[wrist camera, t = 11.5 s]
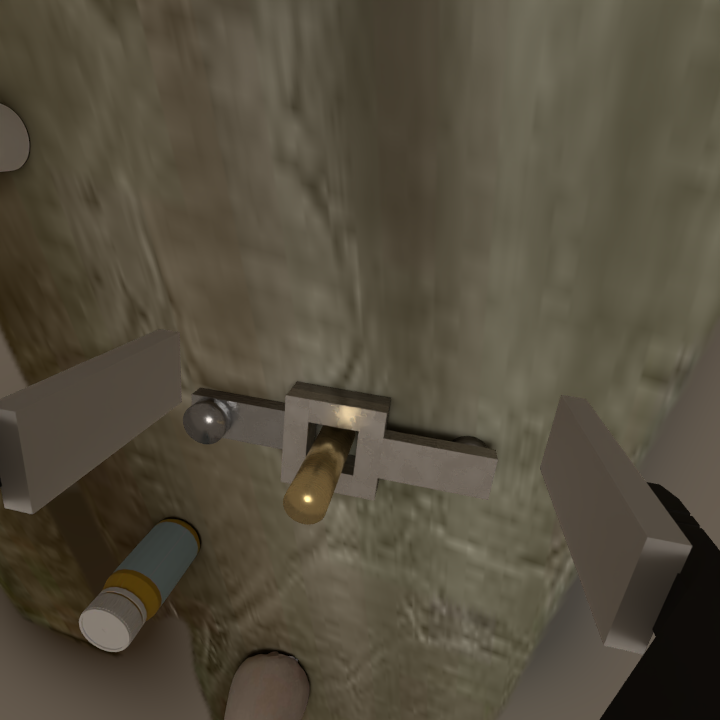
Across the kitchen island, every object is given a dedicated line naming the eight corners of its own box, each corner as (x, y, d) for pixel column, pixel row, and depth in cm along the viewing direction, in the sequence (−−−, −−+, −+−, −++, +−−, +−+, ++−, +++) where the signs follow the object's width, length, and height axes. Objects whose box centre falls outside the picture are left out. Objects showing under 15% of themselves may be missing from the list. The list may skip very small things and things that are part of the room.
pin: (323, 414, 53) (284, 482, 40) (357, 420, 53) (328, 491, 40) (320, 443, 55) (282, 519, 42) (353, 450, 54) (324, 528, 41)
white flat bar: (200, 364, 54) (181, 376, 50) (499, 416, 49) (504, 434, 46) (201, 445, 58) (184, 461, 54) (479, 500, 53) (482, 522, 49)
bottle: (210, 535, 62) (142, 631, 48) (189, 565, 65) (119, 664, 51) (168, 507, 62) (87, 595, 48) (148, 538, 65) (66, 630, 51)
